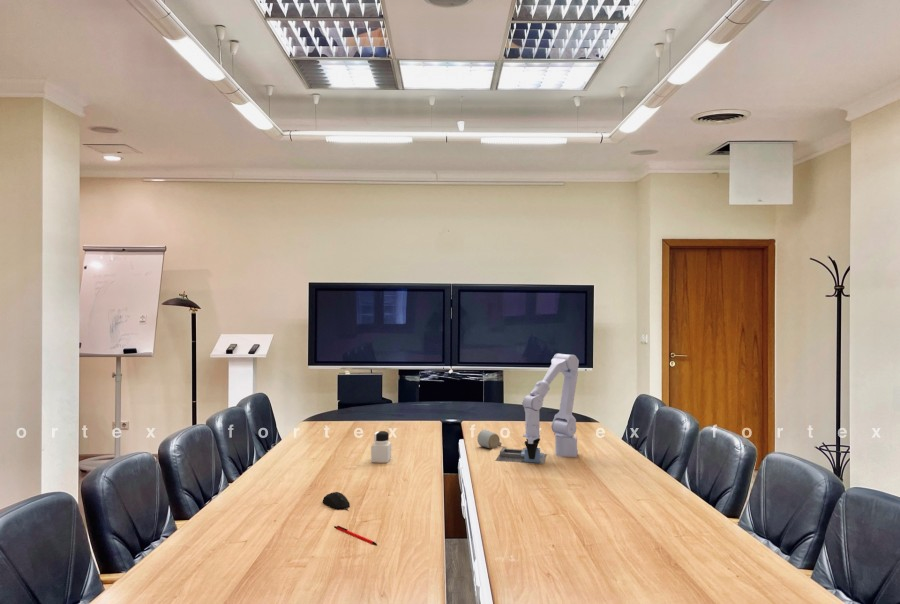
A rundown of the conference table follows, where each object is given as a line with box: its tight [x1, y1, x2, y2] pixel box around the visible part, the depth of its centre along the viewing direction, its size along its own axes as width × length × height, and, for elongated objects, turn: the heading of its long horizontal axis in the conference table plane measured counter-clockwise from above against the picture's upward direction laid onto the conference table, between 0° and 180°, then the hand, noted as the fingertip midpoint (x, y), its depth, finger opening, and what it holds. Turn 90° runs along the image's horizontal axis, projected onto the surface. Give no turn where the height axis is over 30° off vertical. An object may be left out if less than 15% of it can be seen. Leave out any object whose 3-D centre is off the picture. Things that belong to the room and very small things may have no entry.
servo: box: [521, 446, 545, 463], centre depth 234 cm, size 9×4×6 cm, turn 76°
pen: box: [333, 525, 378, 546], centre depth 159 cm, size 1×19×1 cm, turn 48°
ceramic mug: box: [477, 429, 503, 449], centre depth 261 cm, size 11×8×8 cm
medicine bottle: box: [370, 430, 392, 464], centre depth 238 cm, size 7×7×12 cm
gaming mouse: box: [322, 491, 351, 512], centre depth 183 cm, size 6×15×4 cm, turn 39°
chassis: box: [495, 446, 548, 465], centre depth 240 cm, size 20×16×3 cm
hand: (532, 457), depth 234 cm, fingers closed on servo, 4 cm apart
